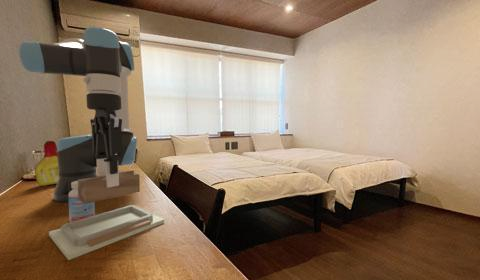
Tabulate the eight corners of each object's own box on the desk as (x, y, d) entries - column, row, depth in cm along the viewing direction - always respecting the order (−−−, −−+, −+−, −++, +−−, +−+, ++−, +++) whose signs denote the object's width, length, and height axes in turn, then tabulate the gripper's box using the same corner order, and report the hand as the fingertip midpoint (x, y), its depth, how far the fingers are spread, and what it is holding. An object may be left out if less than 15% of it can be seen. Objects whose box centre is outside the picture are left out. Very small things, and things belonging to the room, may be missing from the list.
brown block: (78, 199, 55) (77, 175, 55) (131, 188, 65) (130, 168, 65) (85, 203, 52) (84, 178, 52) (139, 191, 62) (139, 170, 62)
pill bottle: (71, 226, 59) (69, 185, 59) (67, 220, 64) (66, 181, 63) (97, 220, 64) (96, 181, 63) (92, 214, 68) (91, 178, 68)
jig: (49, 235, 55) (48, 225, 55) (136, 209, 72) (136, 201, 72) (68, 260, 45) (67, 248, 45) (164, 222, 62) (164, 214, 62)
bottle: (36, 188, 96) (33, 142, 94) (35, 185, 100) (32, 141, 99) (71, 182, 105) (68, 140, 103) (68, 180, 109) (65, 139, 107)
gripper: (75, 95, 59) (79, 181, 61) (101, 88, 48) (106, 194, 49) (105, 98, 65) (109, 176, 66) (136, 92, 54) (139, 187, 55)
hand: (108, 184), depth 58 cm, fingers closed on brown block, 5 cm apart
